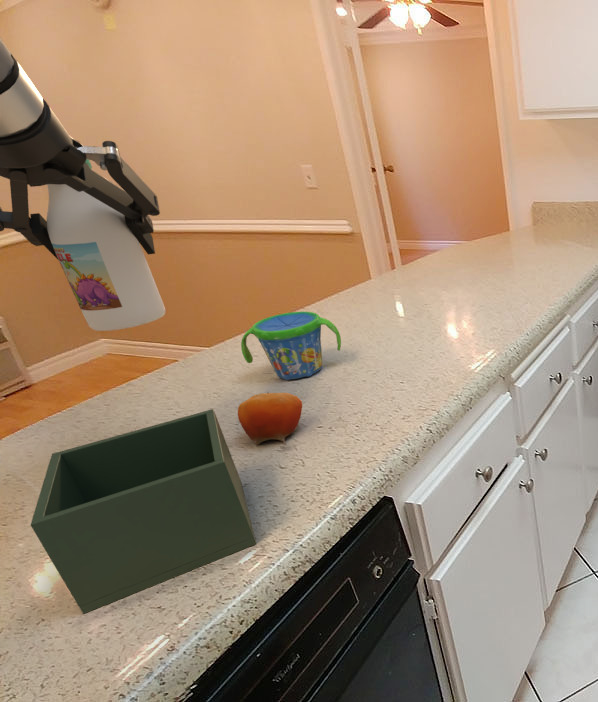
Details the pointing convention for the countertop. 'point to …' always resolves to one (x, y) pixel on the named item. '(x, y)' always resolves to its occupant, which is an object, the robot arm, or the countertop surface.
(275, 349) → the snack cup
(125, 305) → the milk bottle
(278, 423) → the fruit
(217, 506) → the bin
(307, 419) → the countertop surface
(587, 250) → the countertop surface
